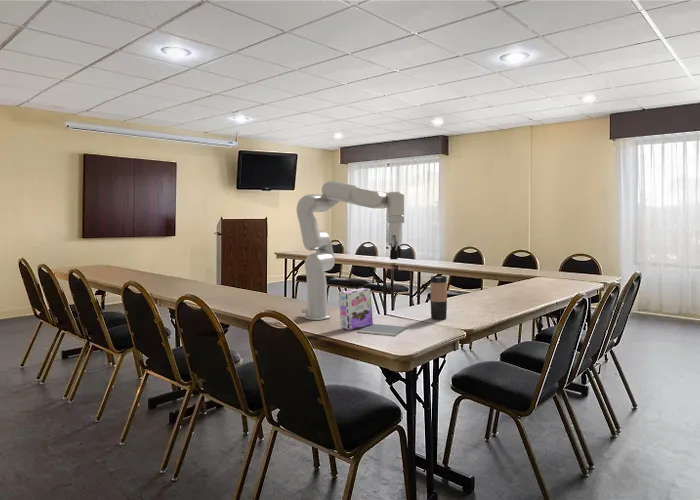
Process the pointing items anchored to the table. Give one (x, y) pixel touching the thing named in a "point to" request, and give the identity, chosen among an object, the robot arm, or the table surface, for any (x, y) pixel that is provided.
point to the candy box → (355, 308)
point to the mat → (383, 329)
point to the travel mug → (438, 297)
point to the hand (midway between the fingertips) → (395, 258)
